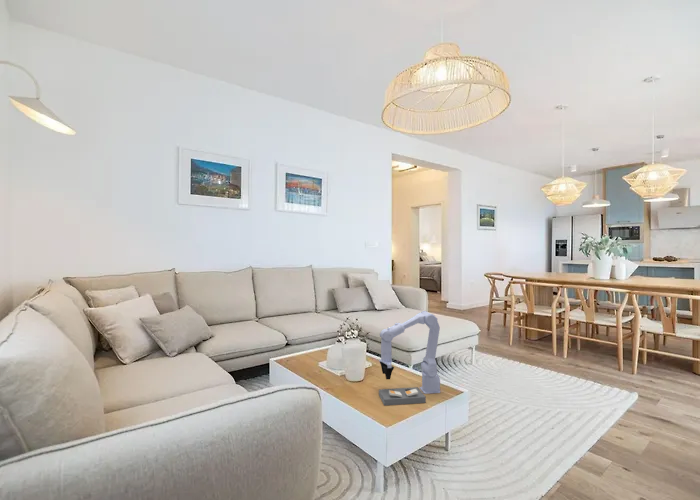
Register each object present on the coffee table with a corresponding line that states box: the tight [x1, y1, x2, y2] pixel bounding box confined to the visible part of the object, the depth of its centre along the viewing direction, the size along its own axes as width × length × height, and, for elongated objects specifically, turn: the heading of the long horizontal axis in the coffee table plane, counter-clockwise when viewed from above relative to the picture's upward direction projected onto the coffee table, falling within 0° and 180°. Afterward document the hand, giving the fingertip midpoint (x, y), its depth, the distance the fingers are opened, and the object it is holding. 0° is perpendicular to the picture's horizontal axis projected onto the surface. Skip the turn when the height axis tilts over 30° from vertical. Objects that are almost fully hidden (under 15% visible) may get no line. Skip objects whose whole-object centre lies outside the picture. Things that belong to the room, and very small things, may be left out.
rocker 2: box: [405, 389, 418, 397], centre depth 177 cm, size 6×4×1 cm, turn 98°
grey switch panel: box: [378, 386, 427, 406], centre depth 180 cm, size 22×12×3 cm, turn 98°
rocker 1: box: [389, 390, 402, 397], centre depth 176 cm, size 6×4×1 cm, turn 99°
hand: (386, 376), depth 186 cm, fingers open, 7 cm apart
